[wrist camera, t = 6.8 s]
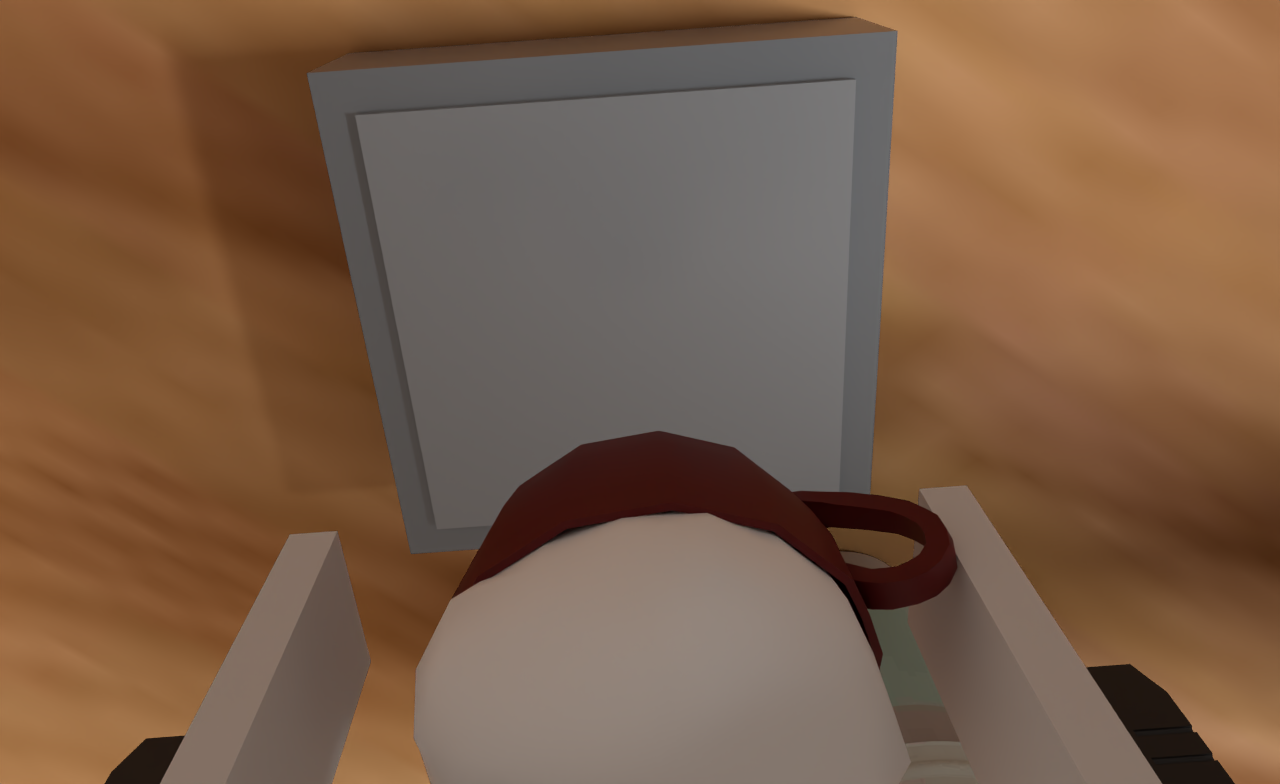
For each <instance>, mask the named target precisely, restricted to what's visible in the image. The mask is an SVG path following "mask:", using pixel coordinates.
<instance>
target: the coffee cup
mask: <svg viewBox="0 0 1280 784" xmlns="http://www.w3.org/2000/svg"><path fill="white" fill-rule="evenodd" d="M840 553H841V555H842V557H843V559H844V561H845V563H849V564H853V565H858V566H862V567H866V568H870V569H876V568H887V567H890V566H888V565H887V564H886V563H884V562H882V561H881V560H879V559H876V558H874V557H872V556H869V555H865V554H861V553H856V552H844V551H841V552H840ZM867 610H868V612H869V614H870V616H871V619H872V622H873V625H874V628H875V631H876V634H877V637H878V640H879V643H880V646H881V649H882V652H883V656H882V661H881V666H880V673H881V676H882V679H883V682H884V685H885V687H886V690H887V693H888V696H889V699H890V701H891V704H892V707H893V710H894V713H895V716H896V719H897V722H898V725H899V728H900V731H901V734H902V737H903V740H904V743H905V746H906V749H907V752H908V755H909V758H910V761H911V763H910V765H909V767H908V768H907V770H906V772H905V774H904V776H903V777H902V779H901V781H900V783H899V784H978V781H977V779H976V777H975V775H974V772H973V770H972V768H971V766H970V763H969V761H968V759H967V756H966V754H965V752H964V750H963V747H962V745H961V743H960V741H959V738H958V736H957V734H956V731H955V729H954V727H953V725H952V722H951V720H950V718H949V715H948V713H947V711H946V709H945V706H944V704H943V702H942V700H941V697H940V695H939V693H938V690H937V688H936V686H935V684H934V681H933V679H932V677H931V675H930V672H929V670H928V668H927V665H926V663H925V661H924V659H923V656H922V654H921V652H920V650H919V647H918V645H917V643H916V640H915V638H914V636H913V634H912V631H911V629H910V627H909V624H908V611H909V606H908V607H903V608H898V609H894V610H871V609H867Z"/></svg>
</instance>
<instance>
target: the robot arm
mask: <svg viewBox="0 0 1280 784" xmlns="http://www.w3.org/2000/svg"><path fill="white" fill-rule="evenodd" d="M918 505H919V506H921V507H924V508H926V509H928V510H929V511H931V512H933V513H935V514H937V515H938V516H939V518H940V519H941V521H942V522H943V524H944V525H945V527H946V528H947V530H948V532H949V533H950V535H951V537H952V539H953V543H954V548H955V553H956V560H957V567H958V568H957V570H956V572H955V574H954V576H953V578H952V580H951V583H950V584H949V585H948V586H947V587H946V588H945V589H944V590H943V591H942V592H941V593H940V594H939V595H938V596H936V597H933V598H931V599H929V600H927V601H925V602H922V603H920V604H917V605H912V606H909V611H908V624H909V627H910V629H911V631H912V634H913V636H914V638H915V640H916V643H917V645H918V647H919V650H920V652H921V654H922V656H923V659H924V661H925V663H926V665H927V668H928V670H929V672H930V675H931V677H932V679H933V681H934V684H935V686H936V688H937V690H938V693H939V695H940V697H941V700H942V702H943V704H944V706H945V709H946V711H947V713H948V715H949V718H950V720H951V722H952V725H953V727H954V729H955V731H956V734H957V736H958V738H959V741H960V743H961V745H962V747H963V750H964V752H965V754H966V756H967V759H968V761H969V763H970V766H971V768H972V770H973V772H974V775H975V777H976V779H977V781H978V784H1235V783H1234V782H1233V781H1232V779H1231V778H1230V777H1229V775H1228V774H1227V772H1226V771H1225V770H1224V768H1223V767H1222V766H1221V764H1220V763H1219V762H1218V760H1216V761H1215V760H1214V759H1213V757H1212V752H1211V751H1210V749H1209V748H1208V747H1207V745H1206V744H1205V743H1204V741H1203V740H1202V739H1201V737H1200V736H1199V735H1198V733H1197V732H1193V730H1192V725H1191V724H1190V722H1189V721H1188V720H1187V718H1186V717H1185V716H1184V714H1183V713H1182V712H1181V710H1180V709H1179V708H1178V706H1177V705H1176V704H1175V702H1174V701H1173V700H1172V698H1171V697H1170V695H1169V694H1168V693H1167V692H1166V691H1165V690H1164V689H1162V688H1161V687H1160V686H1158V685H1157V684H1156V683H1154V682H1153V681H1152V680H1150V679H1149V678H1148V677H1146V676H1145V675H1144V674H1142V673H1141V672H1140V671H1138V670H1137V669H1136V668H1134V667H1133V666H1132V665H1130V664H1126V665H1112V666H1099V667H1085V665H1084V664H1083V662H1082V661H1081V659H1080V658H1079V656H1078V654H1077V653H1076V651H1075V650H1074V648H1073V647H1072V645H1071V644H1070V642H1069V641H1068V639H1067V638H1066V636H1065V635H1064V633H1063V632H1062V630H1061V629H1060V627H1059V625H1058V624H1057V622H1056V621H1055V619H1054V618H1053V616H1052V615H1051V613H1050V612H1049V610H1048V609H1047V607H1046V606H1045V604H1044V603H1043V601H1042V600H1041V598H1040V596H1039V595H1038V593H1037V592H1036V590H1035V589H1034V587H1033V586H1032V584H1031V583H1030V581H1029V580H1028V578H1027V577H1026V575H1025V574H1024V572H1023V571H1022V569H1021V567H1020V566H1019V564H1018V563H1017V561H1016V560H1015V558H1014V557H1013V555H1012V554H1011V552H1010V551H1009V549H1008V548H1007V546H1006V545H1005V543H1004V542H1003V540H1002V538H1001V537H1000V535H999V534H998V532H997V531H996V529H995V528H994V526H993V525H992V523H991V522H990V520H989V519H988V517H987V516H986V514H985V513H984V511H983V509H982V508H981V506H980V505H979V503H978V502H977V500H976V499H975V497H974V496H973V494H972V493H971V491H970V490H969V488H968V487H967V485H965V486H952V487H938V488H924V489H919V498H918ZM923 547H924V546H923V545H922V544H920V543H918V542H916V541H915V543H914V554H913V558H914V557H916V556H917V555H919V554H920V552H921V551H922V549H923ZM370 663H371V660H370V656H369V652H368V648H367V644H366V640H365V636H364V632H363V629H362V625H361V621H360V617H359V613H358V609H357V605H356V601H355V597H354V594H353V590H352V586H351V582H350V578H349V574H348V570H347V566H346V562H345V559H344V555H343V551H342V547H341V543H340V539H339V535H338V531H331V532H317V533H303V534H290V535H289V537H288V539H287V541H286V543H285V545H284V547H283V548H282V550H281V552H280V554H279V556H278V558H277V560H276V562H275V564H274V566H273V568H272V570H271V571H270V573H269V575H268V577H267V579H266V581H265V583H264V585H263V587H262V589H261V591H260V593H259V595H258V596H257V598H256V600H255V602H254V604H253V606H252V608H251V610H250V612H249V614H248V616H247V618H246V619H245V621H244V623H243V625H242V627H241V629H240V631H239V633H238V635H237V637H236V639H235V641H234V643H233V644H232V646H231V648H230V650H229V652H228V654H227V656H226V658H225V660H224V662H223V664H222V666H221V668H220V669H219V671H218V673H217V675H216V677H215V679H214V681H213V683H212V685H211V687H210V689H209V691H208V692H207V694H206V696H205V698H204V700H203V702H202V704H201V706H200V708H199V710H198V712H197V714H196V716H195V717H194V719H193V721H192V723H191V725H190V727H189V729H188V731H187V733H186V735H185V736H175V737H161V738H147V739H145V740H144V741H143V742H142V743H141V744H140V745H139V746H138V747H137V748H136V749H135V750H134V751H133V752H132V753H131V754H130V755H129V756H128V757H127V758H126V759H124V760H123V761H122V762H121V763H120V764H119V765H118V766H117V767H116V768H115V769H114V770H113V771H112V772H111V774H110V776H109V777H108V779H107V781H106V782H105V784H332V782H333V779H334V776H335V772H336V769H337V766H338V763H339V760H340V757H341V754H342V750H343V747H344V744H345V741H346V738H347V735H348V732H349V728H350V725H351V722H352V719H353V716H354V713H355V710H356V707H357V703H358V700H359V697H360V694H361V691H362V688H363V685H364V681H365V678H366V675H367V672H368V669H369V666H370Z"/></svg>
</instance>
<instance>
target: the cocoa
mask: <svg viewBox="0 0 1280 784" xmlns="http://www.w3.org/2000/svg"><path fill="white" fill-rule="evenodd" d="M828 527H836V528H849V529H862V530H873V531H880V532H888V533H895V534H900V535H902V536H905V537H908V538H910V539H913V540H915V541H916V542H918V543H920V544H922V545H923V546H924V547H923V549H922V551H921V552H920V554H919V555H917V556H916V557H914V558H913V559H911V560H910V561H908V562H906V563H904V564H902V565H900V566H897V567H887V568H876V569H870V568H866V567H862V566H858V565H853V564H849V563H845V561H844V559H843V557H842V555H841V553H840V551H839V548H838V546H837V544H836V542H835V540H834V538H833V536H832V535H831V533H830V532H829V531H828V530H827V528H828ZM957 568H958V567H957V560H956V553H955V548H954V543H953V539H952V537H951V535H950V533H949V532H948V530H947V528H946V527H945V525H944V524H943V522H942V521H941V519H940V518H939V516H938V515H937V514H935V513H933V512H931V511H929V510H928V509H926V508H924V507H921V506H919V505H917V504H914V503H912V502H910V501H906V500H901V499H896V498H890V497H885V496H880V495H871V494H862V493H853V492H820V491H795V492H792V491H790V490H789V489H788V488H787V487H785V486H784V485H783V484H782V483H780V482H779V481H778V480H776V479H775V478H774V477H772V476H771V475H770V474H769V473H767V472H766V471H765V470H763V469H762V468H761V467H759V466H758V465H757V464H756V463H754V462H753V461H752V460H750V459H749V458H748V457H746V456H745V455H744V454H743V453H741V452H740V451H739V450H737V449H736V448H735V447H731V446H726V445H722V444H717V443H713V442H708V441H704V440H699V439H695V438H690V437H686V436H681V435H677V434H672V433H668V432H663V431H654V432H648V433H643V434H637V435H631V436H626V437H620V438H615V439H609V440H604V441H598V442H592V443H587V444H581V445H580V446H578V447H577V448H575V449H574V450H572V451H571V452H569V453H568V454H566V455H565V456H563V457H562V458H560V459H559V460H557V461H556V462H554V463H553V464H551V465H550V466H548V467H547V468H545V469H544V470H542V471H541V472H539V473H538V474H536V475H535V476H533V477H532V478H530V479H529V480H527V481H526V482H524V483H523V484H521V485H520V486H519V487H518V488H517V489H516V491H515V492H514V493H513V494H512V496H511V497H510V498H509V499H508V501H507V502H506V503H505V505H504V506H503V508H502V509H501V511H500V513H499V515H498V516H497V518H496V520H495V522H494V523H493V525H492V527H491V529H490V530H489V532H488V534H487V536H486V538H485V539H484V541H483V543H482V545H481V547H480V548H479V550H478V552H477V554H476V556H475V557H474V559H473V561H472V563H471V565H470V567H469V568H468V570H467V572H466V574H465V576H464V577H463V579H462V581H461V583H460V585H459V586H458V588H457V590H456V592H455V594H454V595H453V597H452V599H451V600H450V602H449V604H448V606H447V608H446V610H445V612H444V614H443V616H442V618H441V620H440V622H439V624H438V626H437V628H436V630H435V632H434V634H433V636H432V638H431V640H430V642H429V644H428V646H427V648H426V650H425V652H424V654H423V656H422V658H421V660H420V662H419V664H418V666H417V668H416V681H415V713H414V740H415V742H416V744H417V746H418V748H419V750H420V753H421V756H422V759H423V762H424V765H425V768H426V771H427V774H428V777H429V780H430V783H431V784H899V783H900V781H901V779H902V777H903V776H904V774H905V772H906V770H907V768H908V767H909V765H910V763H911V761H910V758H909V755H908V752H907V749H906V746H905V743H904V740H903V737H902V734H901V731H900V728H899V725H898V722H897V719H896V716H895V713H894V710H893V707H892V704H891V701H890V699H889V696H888V693H887V690H886V687H885V685H884V682H883V679H882V676H881V673H880V666H881V661H882V656H883V652H882V649H881V646H880V643H879V640H878V637H877V634H876V631H875V628H874V625H873V622H872V619H871V616H870V614H869V612H868V610H867V609H871V610H894V609H898V608H903V607H908V606H912V605H917V604H920V603H922V602H925V601H927V600H929V599H931V598H933V597H936V596H938V595H939V594H940V593H941V592H942V591H943V590H944V589H945V588H946V587H947V586H948V585H949V584H950V583H951V580H952V578H953V576H954V574H955V572H956V570H957Z"/></svg>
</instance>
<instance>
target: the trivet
mask: <svg viewBox="0 0 1280 784" xmlns="http://www.w3.org/2000/svg"><path fill="white" fill-rule="evenodd" d="M896 47H897V31H896V30H893V29H890V28H887V27H884V26H881V25H878V24H875V23H872V22H869V21H866V20H863V19H861V18H858V17H849V18H835V19H821V20H807V21H793V22H779V23H765V24H751V25H737V26H723V27H709V28H695V29H681V30H667V31H653V32H639V33H625V34H611V35H597V36H583V37H569V38H555V39H541V40H527V41H513V42H499V43H485V44H471V45H457V46H443V47H429V48H415V49H401V50H387V51H373V52H359V53H348V54H346V55H344V56H342V57H340V58H338V59H336V60H333V61H331V62H329V63H327V64H325V65H323V66H321V67H319V68H316V69H314V70H312V71H310V72H308V73H307V77H308V82H309V86H310V91H311V95H312V100H313V105H314V109H315V114H316V118H317V123H318V128H319V132H320V137H321V141H322V146H323V151H324V155H325V160H326V165H327V169H328V174H329V178H330V183H331V188H332V192H333V197H334V201H335V206H336V211H337V215H338V220H339V224H340V229H341V234H342V238H343V243H344V248H345V252H346V257H347V261H348V266H349V271H350V275H351V280H352V284H353V289H354V294H355V298H356V303H357V308H358V312H359V317H360V321H361V326H362V331H363V335H364V340H365V344H366V349H367V354H368V358H369V363H370V367H371V372H372V377H373V381H374V386H375V391H376V395H377V400H378V404H379V409H380V414H381V418H382V423H383V427H384V432H385V437H386V441H387V446H388V450H389V455H390V460H391V464H392V469H393V474H394V478H395V483H396V487H397V492H398V497H399V501H400V506H401V510H402V515H403V520H404V524H405V529H406V533H407V538H408V543H409V547H410V552H411V554H418V553H432V552H445V551H459V550H473V549H479V548H480V547H481V545H482V543H483V541H484V539H485V538H486V536H487V534H488V532H489V530H490V529H491V527H492V525H493V523H494V522H495V520H496V518H497V516H498V515H499V513H500V511H501V509H502V508H503V506H504V505H505V503H506V502H507V501H508V499H509V498H510V497H511V496H512V494H513V493H514V492H515V491H516V489H517V488H518V487H519V486H520V485H521V484H523V483H524V482H526V481H527V480H529V479H530V478H532V477H533V476H535V475H536V474H538V473H539V472H541V471H542V470H544V469H545V468H547V467H548V466H550V465H551V464H553V463H554V462H556V461H557V460H559V459H560V458H562V457H563V456H565V455H566V454H568V453H569V452H571V451H572V450H574V449H575V448H577V447H578V446H580V445H581V444H587V443H592V442H598V441H604V440H609V439H615V438H620V437H626V436H631V435H637V434H643V433H648V432H654V431H663V432H668V433H672V434H677V435H681V436H686V437H690V438H695V439H699V440H704V441H708V442H713V443H717V444H722V445H726V446H731V447H735V448H736V449H737V450H739V451H740V452H741V453H743V454H744V455H745V456H746V457H748V458H749V459H750V460H752V461H753V462H754V463H756V464H757V465H758V466H759V467H761V468H762V469H763V470H765V471H766V472H767V473H769V474H770V475H771V476H772V477H774V478H775V479H776V480H778V481H779V482H780V483H782V484H783V485H784V486H785V487H787V488H788V489H789V490H790V491H792V492H795V491H820V492H853V493H862V494H870V487H871V470H872V453H873V437H874V420H875V403H876V386H877V369H878V352H879V335H880V318H881V301H882V284H883V267H884V250H885V233H886V217H887V200H888V183H889V166H890V149H891V132H892V115H893V98H894V81H895V64H896Z"/></svg>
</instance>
